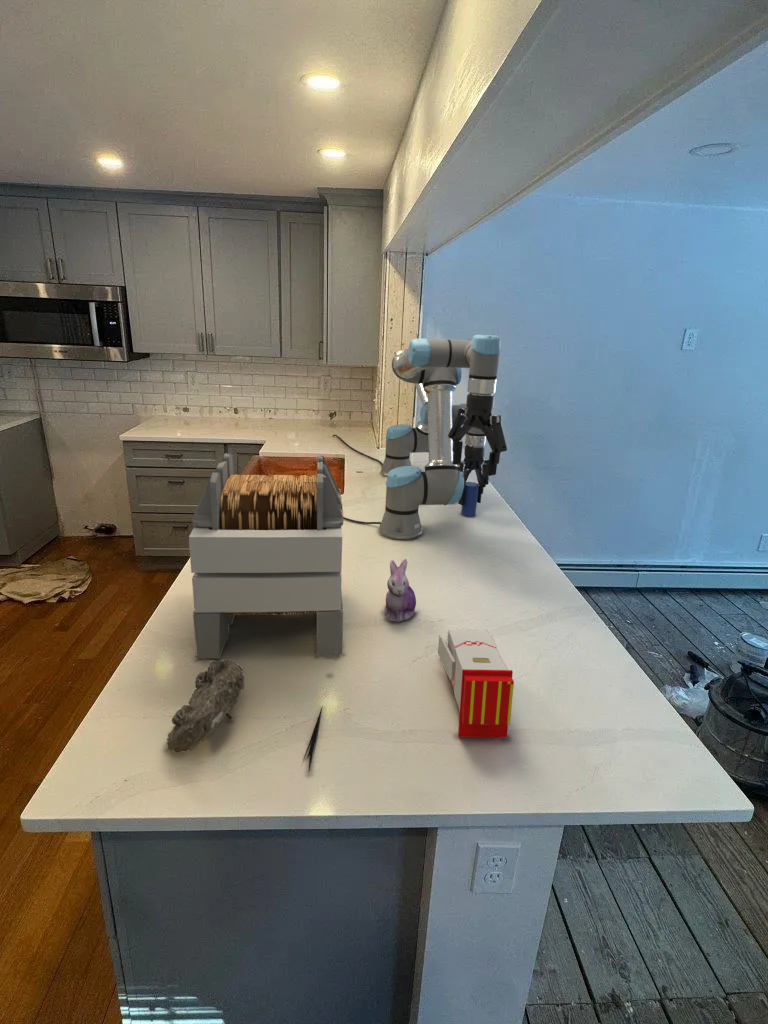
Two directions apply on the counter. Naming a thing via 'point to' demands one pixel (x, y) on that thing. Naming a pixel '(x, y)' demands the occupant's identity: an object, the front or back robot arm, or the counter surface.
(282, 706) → the counter surface
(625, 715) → the counter surface
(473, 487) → the can
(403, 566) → the figurine
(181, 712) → the fossil
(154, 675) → the counter surface
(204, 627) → the transformer
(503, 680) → the toy
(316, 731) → the feather
